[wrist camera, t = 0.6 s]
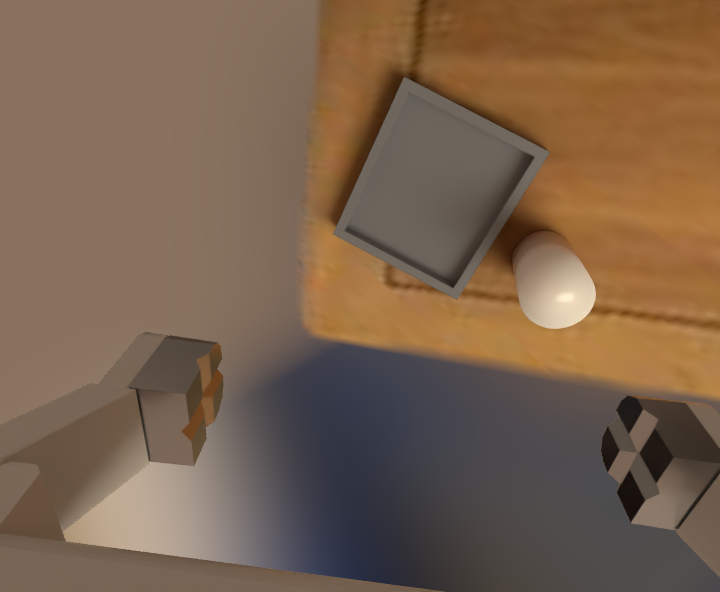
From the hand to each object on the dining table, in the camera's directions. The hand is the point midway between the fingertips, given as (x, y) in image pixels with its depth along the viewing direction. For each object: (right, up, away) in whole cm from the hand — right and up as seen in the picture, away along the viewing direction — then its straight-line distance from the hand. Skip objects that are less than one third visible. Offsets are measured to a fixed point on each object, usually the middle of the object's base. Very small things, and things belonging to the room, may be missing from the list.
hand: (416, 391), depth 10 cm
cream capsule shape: (+19, +6, +43) cm, 47 cm away
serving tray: (+7, +13, +43) cm, 45 cm away
